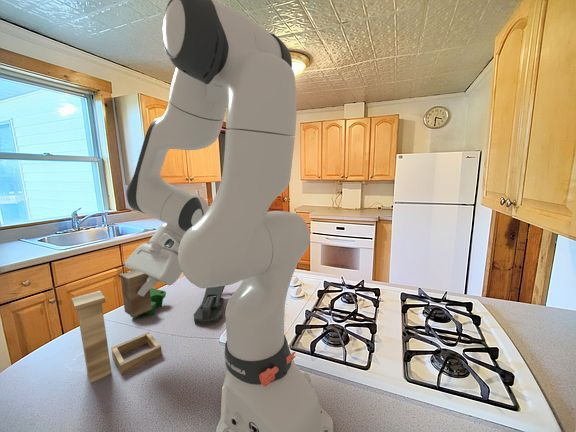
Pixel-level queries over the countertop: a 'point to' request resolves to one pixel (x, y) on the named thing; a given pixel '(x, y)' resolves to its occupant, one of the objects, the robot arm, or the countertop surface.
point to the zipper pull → (210, 307)
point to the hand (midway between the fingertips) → (133, 291)
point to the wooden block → (131, 299)
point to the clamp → (154, 301)
